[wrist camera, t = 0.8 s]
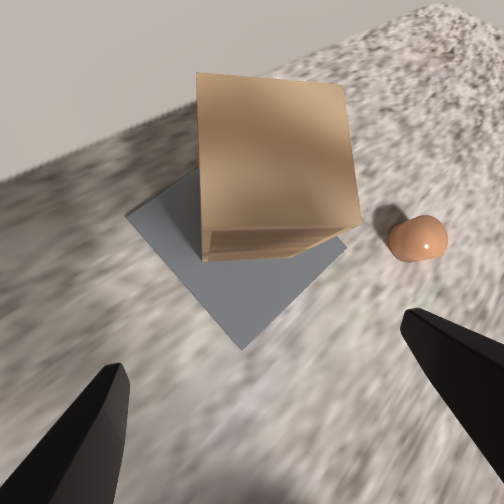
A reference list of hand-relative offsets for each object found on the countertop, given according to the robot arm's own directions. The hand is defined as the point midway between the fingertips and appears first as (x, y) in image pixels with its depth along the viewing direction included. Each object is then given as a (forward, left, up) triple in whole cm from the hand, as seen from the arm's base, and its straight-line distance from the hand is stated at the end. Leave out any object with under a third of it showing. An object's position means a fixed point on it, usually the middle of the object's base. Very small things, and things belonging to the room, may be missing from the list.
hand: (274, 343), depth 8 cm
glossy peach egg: (-6, -16, -12) cm, 21 cm away
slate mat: (+4, -5, -12) cm, 14 cm away
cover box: (+5, -6, -12) cm, 14 cm away
